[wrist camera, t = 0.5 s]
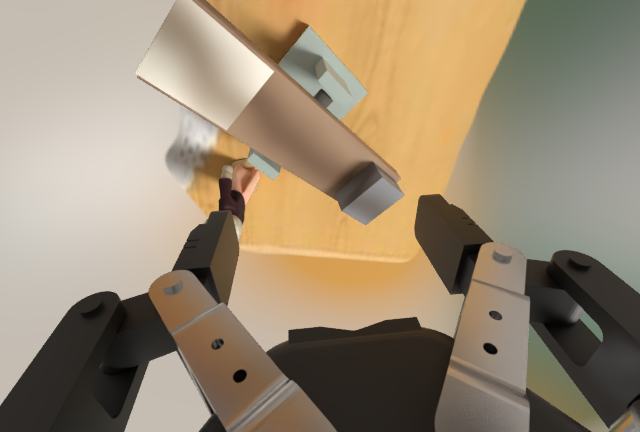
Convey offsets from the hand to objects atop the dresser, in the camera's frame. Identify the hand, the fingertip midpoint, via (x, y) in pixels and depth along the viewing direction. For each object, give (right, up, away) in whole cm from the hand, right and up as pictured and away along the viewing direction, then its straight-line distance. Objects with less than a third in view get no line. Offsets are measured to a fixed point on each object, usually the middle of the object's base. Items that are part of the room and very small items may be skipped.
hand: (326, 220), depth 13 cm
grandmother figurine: (-9, +5, +22) cm, 25 cm away
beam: (-2, +8, +13) cm, 16 cm away
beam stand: (-3, +12, +18) cm, 22 cm away
